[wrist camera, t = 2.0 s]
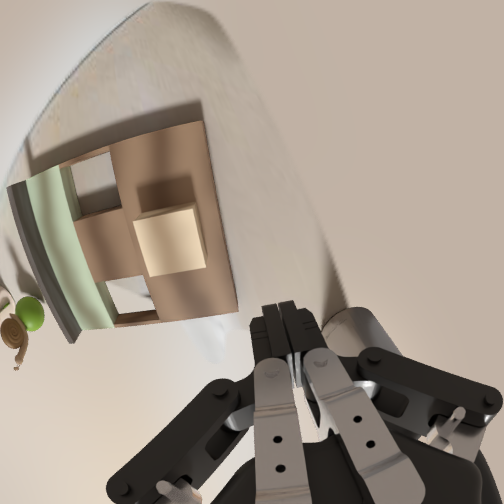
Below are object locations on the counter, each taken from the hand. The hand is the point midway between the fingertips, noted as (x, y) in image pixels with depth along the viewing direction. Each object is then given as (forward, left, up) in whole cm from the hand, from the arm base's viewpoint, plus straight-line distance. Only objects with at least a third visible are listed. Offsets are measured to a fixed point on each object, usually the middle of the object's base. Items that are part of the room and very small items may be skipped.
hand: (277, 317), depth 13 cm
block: (+6, +6, -16) cm, 18 cm away
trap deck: (+11, +11, -19) cm, 24 cm away
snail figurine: (+20, +31, -19) cm, 41 cm away
